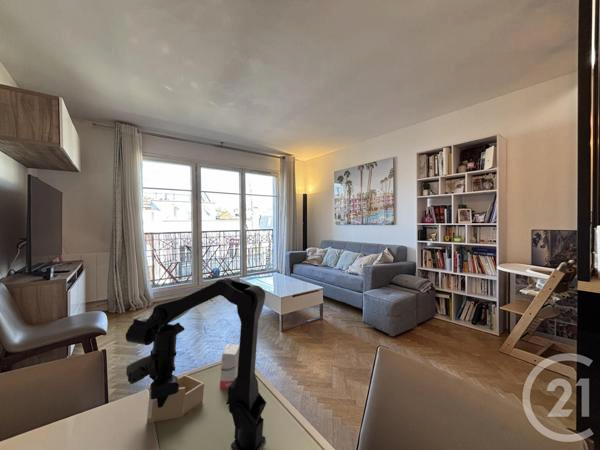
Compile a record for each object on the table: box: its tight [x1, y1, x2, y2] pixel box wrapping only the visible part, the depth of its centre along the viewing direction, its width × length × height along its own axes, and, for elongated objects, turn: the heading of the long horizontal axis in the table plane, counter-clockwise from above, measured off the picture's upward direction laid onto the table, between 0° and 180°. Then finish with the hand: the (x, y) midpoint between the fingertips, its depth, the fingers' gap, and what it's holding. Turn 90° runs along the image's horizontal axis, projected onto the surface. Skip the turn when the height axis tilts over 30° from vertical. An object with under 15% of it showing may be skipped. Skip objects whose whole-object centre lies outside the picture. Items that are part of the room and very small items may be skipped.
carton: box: [177, 374, 205, 416], centre depth 78 cm, size 9×7×6 cm
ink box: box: [219, 343, 240, 390], centre depth 91 cm, size 9×5×12 cm, turn 3°
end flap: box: [146, 387, 185, 423], centre depth 71 cm, size 9×2×8 cm, turn 109°
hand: (159, 403), depth 69 cm, fingers open, 3 cm apart
